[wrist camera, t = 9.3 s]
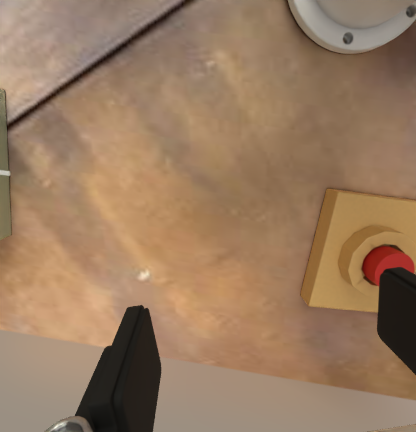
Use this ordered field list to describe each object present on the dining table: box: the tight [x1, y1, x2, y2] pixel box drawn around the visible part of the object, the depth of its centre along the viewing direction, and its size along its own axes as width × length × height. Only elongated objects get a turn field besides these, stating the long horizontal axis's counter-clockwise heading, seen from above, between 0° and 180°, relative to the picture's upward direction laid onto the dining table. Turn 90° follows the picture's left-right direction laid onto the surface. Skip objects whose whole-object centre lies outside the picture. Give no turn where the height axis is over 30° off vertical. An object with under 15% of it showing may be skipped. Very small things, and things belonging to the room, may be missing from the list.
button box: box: [300, 188, 416, 313], centre depth 26 cm, size 12×10×4 cm
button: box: [362, 246, 415, 286], centre depth 23 cm, size 4×4×2 cm
